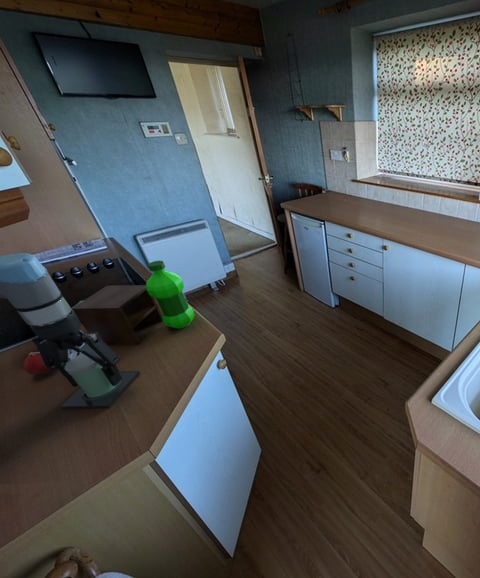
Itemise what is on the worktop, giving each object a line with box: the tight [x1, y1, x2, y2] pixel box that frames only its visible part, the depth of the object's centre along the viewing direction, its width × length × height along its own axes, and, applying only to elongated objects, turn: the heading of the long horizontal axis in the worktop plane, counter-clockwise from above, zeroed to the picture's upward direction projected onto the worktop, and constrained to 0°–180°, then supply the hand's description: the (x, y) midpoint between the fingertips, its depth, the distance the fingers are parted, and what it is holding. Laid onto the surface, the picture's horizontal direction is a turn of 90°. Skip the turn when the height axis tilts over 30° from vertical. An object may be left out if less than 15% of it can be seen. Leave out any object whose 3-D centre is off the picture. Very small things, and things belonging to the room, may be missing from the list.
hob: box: [60, 370, 141, 410], centre depth 82 cm, size 12×12×1 cm
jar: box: [64, 353, 117, 398], centre depth 79 cm, size 7×7×10 cm
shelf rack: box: [71, 284, 163, 346], centre depth 100 cm, size 14×14×15 cm
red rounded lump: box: [22, 352, 53, 375], centre depth 85 cm, size 6×6×8 cm
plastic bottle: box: [145, 260, 195, 330], centre depth 101 cm, size 10×10×25 cm
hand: (98, 382), depth 81 cm, fingers open, 10 cm apart
